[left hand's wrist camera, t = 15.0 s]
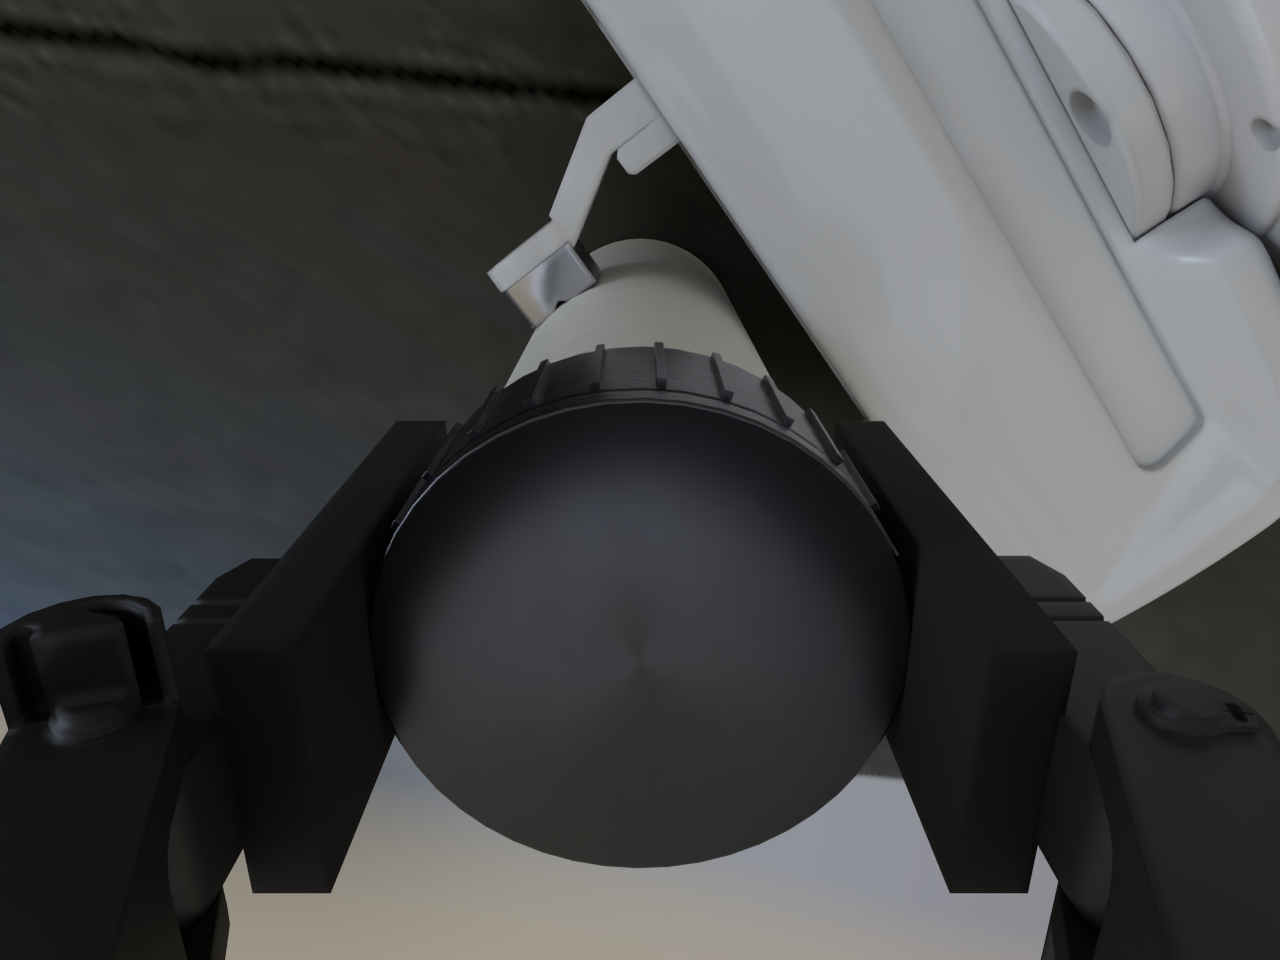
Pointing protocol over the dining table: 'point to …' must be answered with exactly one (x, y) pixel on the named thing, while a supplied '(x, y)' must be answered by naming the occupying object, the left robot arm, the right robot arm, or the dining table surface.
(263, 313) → the dining table surface
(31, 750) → the left robot arm
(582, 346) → the jar
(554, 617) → the lid
